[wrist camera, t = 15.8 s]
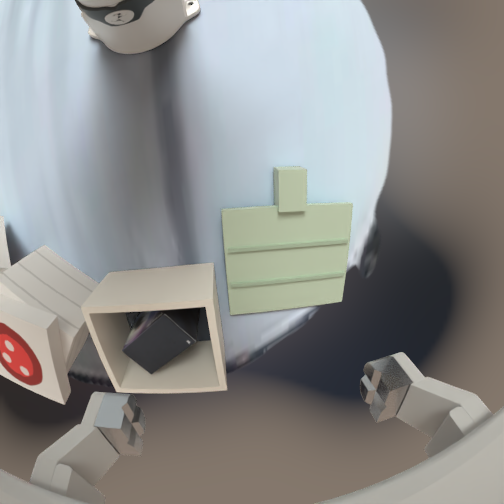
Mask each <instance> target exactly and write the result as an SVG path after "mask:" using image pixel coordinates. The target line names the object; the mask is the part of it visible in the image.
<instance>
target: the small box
mask: <svg viewBox="0 0 504 504" xmlns="http://www.w3.org/2000/svg"><path fill="white" fill-rule="evenodd" d="M199 312H200V307H197V308H185V309H171V310H156V311H142V312H141V313H140V314H139V315H138V316H137V318H136V320H135V322H134V325H133V327H132V329H131V331H130V334H129V336H128V338H127V340H126V343H125V345H124V347H123V349H122V351H123V352H124V353H125V354H126V355H127V356H128V357H130V358H131V359H132V360H133V361H135V362H136V363H137V364H138V365H140V366H141V367H142V368H144V369H145V370H146V371H148V372H149V373H150V374H153V373H154V372H156V371H157V370H158V369H160V368H161V367H163V366H164V365H165V364H167V363H168V362H170V361H171V360H172V359H174V358H175V357H177V356H178V355H179V354H181V353H182V352H183V351H185V350H186V349H188V348H189V347H190V346H192V345H193V344H194V343H196V337H197V328H198V320H199Z"/></svg>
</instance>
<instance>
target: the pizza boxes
mask: <svg viewBox="0 0 504 504" xmlns="http://www.w3.org/2000/svg"><path fill="white" fill-rule="evenodd" d="M98 285H99V283H98V282H96V281H95V280H93V279H92V278H90V277H89V276H87V275H86V274H84V273H83V272H81V271H80V270H78V269H77V268H76V267H74V266H73V265H71V264H70V263H69V262H67V261H66V260H64V259H63V258H62V257H60V256H59V255H58V254H56V253H55V252H53V251H52V250H51V249H49V248H48V247H47V246H46V245H43V246H42V247H40V248H38V249H37V250H35V251H34V252H32V253H30V254H29V255H27V256H26V257H24V258H23V259H21V260H20V261H18V262H17V263H15V264H14V265H12V266H11V263H10V258H9V252H8V246H7V240H6V233H5V225H4V216H0V375H2V376H4V377H6V378H8V379H10V380H12V381H13V382H15V383H17V384H19V385H21V386H23V387H25V388H27V389H29V390H32V391H34V392H36V393H38V394H40V395H42V396H45V397H47V398H49V399H52V400H54V401H57V402H59V403H61V404H64V405H65V403H66V401H67V399H68V397H69V394H70V392H71V389H70V385H69V380H68V376H67V374H68V372H69V370H70V368H71V366H72V365H73V363H74V361H75V359H76V358H77V356H78V354H79V352H80V351H81V349H82V347H83V345H84V344H85V342H86V339H87V336H88V334H89V329H88V326H87V324H86V321H85V318H84V315H83V313H82V310H81V306H82V305H83V303H84V302H85V301H86V300H87V298H88V297H89V296H90V295H91V293H92V292H93V291H94V290H95V288H96V287H97V286H98Z"/></svg>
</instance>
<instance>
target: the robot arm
mask: <svg viewBox="0 0 504 504" xmlns="http://www.w3.org/2000/svg"><path fill="white" fill-rule="evenodd" d="M75 1H76V3H77V5H78V7H79V9H80V10H81V11H82V13H81V15H82V17H83V19H84V20H85V22H86V23H87V24H88V26H89V30H88V34H89V35H90V36H91V37H92V38H95V39H99V40H101V41H102V42H103V43H104V44H105V45H106V46H107V47H108V48H109V49H111V50H112V51H114V52H117V53H122V54H136V53H141V52H145V51H148V50H151V49H153V48H155V47H157V46H159V45H161V44H163V43H164V42H166V41H167V40H168V39H170V38H171V37H172V36H173V35H174V34H175V33H176V32H177V31H178V30H179V28H180V27H181V26H182V25H183V24H184V23H185V22H186V21H187V20H189V19H191V18H192V17H194V16H196V15H197V14H198V13H199V12H200V5H199V2H198V0H75ZM189 4H193V5H189ZM364 372H365V376H364V377H363V378H362V379H361V383H360V391H361V395H362V397H363V399H364V401H365V402H366V403H368V404H371V406H370V412H371V414H372V415H373V417H374V419H375V421H376V422H380V421H383V420H386V419H389V418H391V417H394V416H396V417H397V418H399V419H401V420H402V421H404V422H406V423H407V424H409V425H411V426H413V427H414V428H416V429H418V430H420V431H421V432H423V433H425V434H426V435H428V436H430V437H432V439H431V440H430V441H429V443H428V444H427V445H426V447H425V452H426V453H427V455H428V457H429V459H427V460H425V461H423V462H421V463H420V464H418V465H416V466H414V467H412V468H410V469H408V470H406V471H404V472H402V473H399V474H397V475H395V476H393V477H391V478H388V479H386V480H384V481H381V482H379V483H377V484H374V485H371V486H369V487H366V488H363V489H361V490H358V491H355V492H352V493H350V494H346V495H343V496H340V497H337V498H333V499H330V500H326V501H323V502H319V503H315V504H504V406H503V407H502V408H501V409H500V410H498V411H497V412H496V413H495V414H494V415H493V414H492V413H491V412H490V410H489V409H488V408H487V407H486V406H485V404H484V403H483V402H482V401H481V400H480V399H479V397H478V396H477V395H476V394H474V393H471V392H468V391H465V390H462V389H459V388H456V387H454V386H451V385H448V384H446V383H443V382H440V381H438V380H435V379H433V378H430V377H426V378H425V377H424V376H423V375H422V374H421V372H420V371H419V370H418V369H417V368H416V367H415V365H414V364H413V363H412V362H411V361H410V359H409V358H408V357H407V356H406V355H405V354H404V353H402V352H400V353H397V354H394V355H391V356H387V357H384V358H381V359H378V360H375V361H372V362H368V363H367V364H366V365H365V367H364ZM136 403H137V400H136V398H135V397H134V395H132V394H119V393H104V392H94V393H93V394H92V396H91V398H90V401H89V404H88V406H87V409H86V412H85V415H84V417H83V421H82V423H81V425H76V426H75V427H74V428H73V429H71V430H70V431H69V432H68V433H66V434H65V435H64V436H62V437H61V438H60V439H59V440H57V441H56V442H55V443H54V444H52V445H51V446H50V447H49V448H47V449H46V450H45V451H43V452H42V453H41V454H40V455H38V458H37V460H36V463H35V466H34V469H33V473H32V475H31V479H30V482H26V481H24V480H22V479H20V478H18V477H16V476H14V475H11V474H9V473H7V472H5V471H3V470H2V469H0V504H105V496H104V494H103V493H101V492H100V491H99V490H97V489H96V488H95V487H94V486H95V485H96V484H97V483H98V481H99V480H100V479H101V478H102V477H103V476H104V474H105V473H106V472H107V471H108V469H109V468H110V467H111V466H112V465H113V464H114V462H115V461H116V460H117V459H118V457H119V456H120V455H131V456H141V453H142V446H143V441H142V439H141V437H140V436H141V435H142V434H143V433H144V432H145V426H146V425H145V417H144V413H143V411H142V409H141V408H140V407H138V406H137V405H136Z"/></svg>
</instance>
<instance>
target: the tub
mask: <svg viewBox="0 0 504 504" xmlns="http://www.w3.org/2000/svg"><path fill="white" fill-rule="evenodd" d="M197 307H206V313H207V319H208V325H209V331H210V337H211V340H209V341H196V343H194V344H193V345H192V346H190V347H189V348H188V349H186V350H185V351H183V352H182V353H181V354H179V355H178V356H177V357H175V358H174V359H172V360H171V361H170V362H168V363H167V364H165V365H164V366H163V367H161V368H160V369H158V370H157V371H156V372H154V373H153V374H150V373H149V372H148V371H146V370H145V369H144V368H142V367H141V366H140V365H138V364H137V363H136V362H135V361H133V360H132V359H131V358H130V357H128V356H127V355H126V354H125V353H124V352H123V351H122V349H123V347H124V345H125V343H126V340H127V338H128V336H129V334H130V331H131V330H130V327H129V323H128V320H127V317H126V314H125V312H139V311H156V310H171V309H185V308H197ZM81 310H82V313H83V315H84V318H85V321H86V324H87V326H88V329H89V332H90V334H91V337H92V339H93V342H94V344H95V347H96V349H97V351H98V354H99V356H100V358H101V361H102V363H103V365H104V367H105V369H106V371H107V374H108V376H109V378H110V380H111V382H112V384H113V386H114V388H115V390H116V392H124V393H193V392H210V391H224V390H227V380H226V364H225V349H224V339H223V332H222V325H221V317H220V310H219V303H218V295H217V287H216V279H215V270H214V263H203V264H193V265H182V266H171V267H160V268H149V269H138V270H127V271H116V272H109V273H108V274H107V275H106V276H105V278H104V279H103V280H102V281H101V282H100V284H99V285H98V286H97V287H96V288H95V290H94V291H93V292H92V293H91V295H90V296H89V297H88V298H87V300H86V301H85V302H84V303H83V305H82V306H81Z"/></svg>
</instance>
